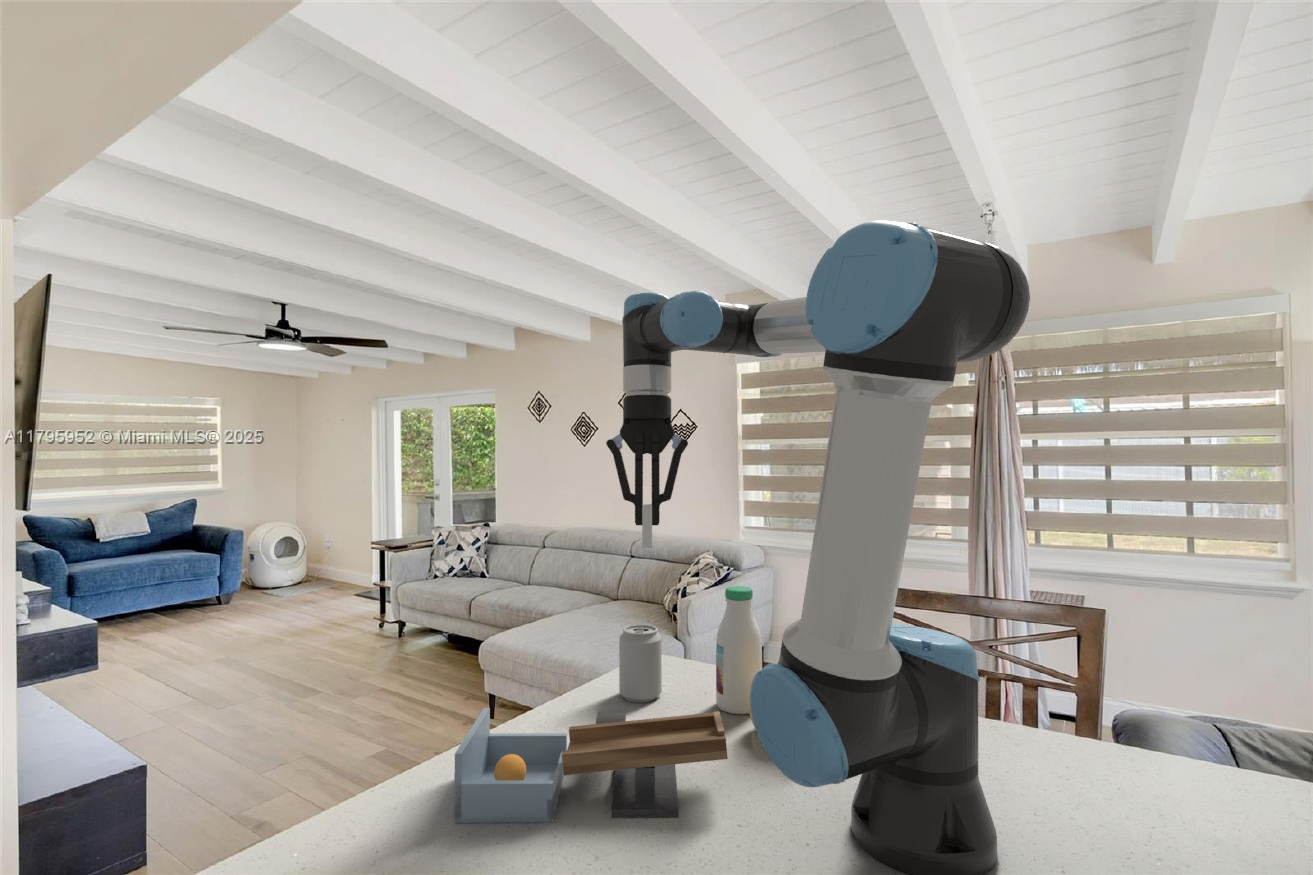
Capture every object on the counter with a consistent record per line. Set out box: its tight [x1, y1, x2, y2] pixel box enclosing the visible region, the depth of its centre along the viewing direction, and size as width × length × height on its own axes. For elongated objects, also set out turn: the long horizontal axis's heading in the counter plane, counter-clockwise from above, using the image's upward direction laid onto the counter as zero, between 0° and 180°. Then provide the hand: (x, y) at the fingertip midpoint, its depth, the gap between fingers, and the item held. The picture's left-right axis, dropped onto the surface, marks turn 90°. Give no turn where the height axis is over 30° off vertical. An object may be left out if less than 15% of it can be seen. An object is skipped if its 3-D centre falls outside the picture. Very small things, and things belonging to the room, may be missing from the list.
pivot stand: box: [610, 764, 680, 819], centre depth 84 cm, size 12×8×4 cm, turn 1°
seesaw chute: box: [562, 708, 728, 776], centre depth 88 cm, size 16×20×3 cm
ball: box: [494, 754, 526, 780], centre depth 84 cm, size 4×4×4 cm
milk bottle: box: [715, 585, 763, 715], centre depth 112 cm, size 8×8×20 cm
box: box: [453, 707, 568, 824], centre depth 84 cm, size 14×11×8 cm
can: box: [618, 623, 663, 703], centre depth 116 cm, size 8×8×12 cm
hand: (647, 546), depth 103 cm, fingers closed
